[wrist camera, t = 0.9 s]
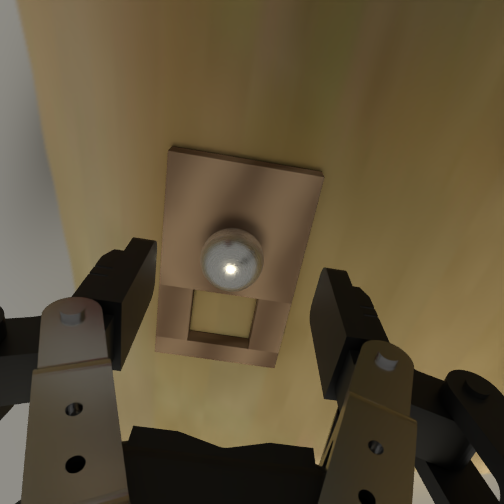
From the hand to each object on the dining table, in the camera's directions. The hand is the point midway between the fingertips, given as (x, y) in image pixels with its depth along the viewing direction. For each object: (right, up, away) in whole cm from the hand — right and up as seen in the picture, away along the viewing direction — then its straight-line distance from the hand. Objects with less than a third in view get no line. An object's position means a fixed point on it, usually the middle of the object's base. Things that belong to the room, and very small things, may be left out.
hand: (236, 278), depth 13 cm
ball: (-1, 0, +17) cm, 18 cm away
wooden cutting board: (-1, 0, +22) cm, 22 cm away
